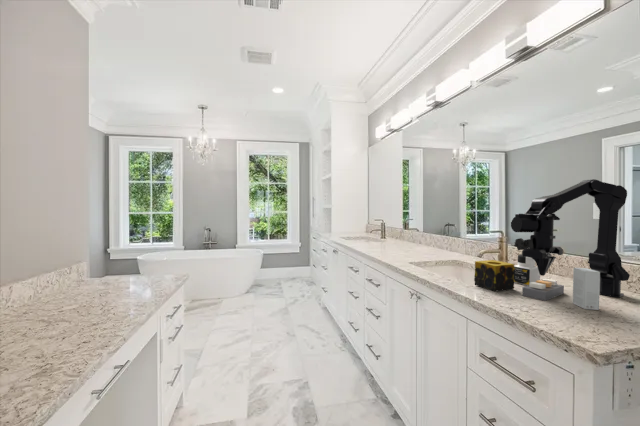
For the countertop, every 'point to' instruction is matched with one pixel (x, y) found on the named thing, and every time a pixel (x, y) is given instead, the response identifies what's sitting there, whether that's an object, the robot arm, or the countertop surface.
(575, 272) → the skincare box
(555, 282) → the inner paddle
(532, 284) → the block
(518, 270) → the medicine bottle
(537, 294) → the block
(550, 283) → the middle paddle
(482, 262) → the yellow and black cube
